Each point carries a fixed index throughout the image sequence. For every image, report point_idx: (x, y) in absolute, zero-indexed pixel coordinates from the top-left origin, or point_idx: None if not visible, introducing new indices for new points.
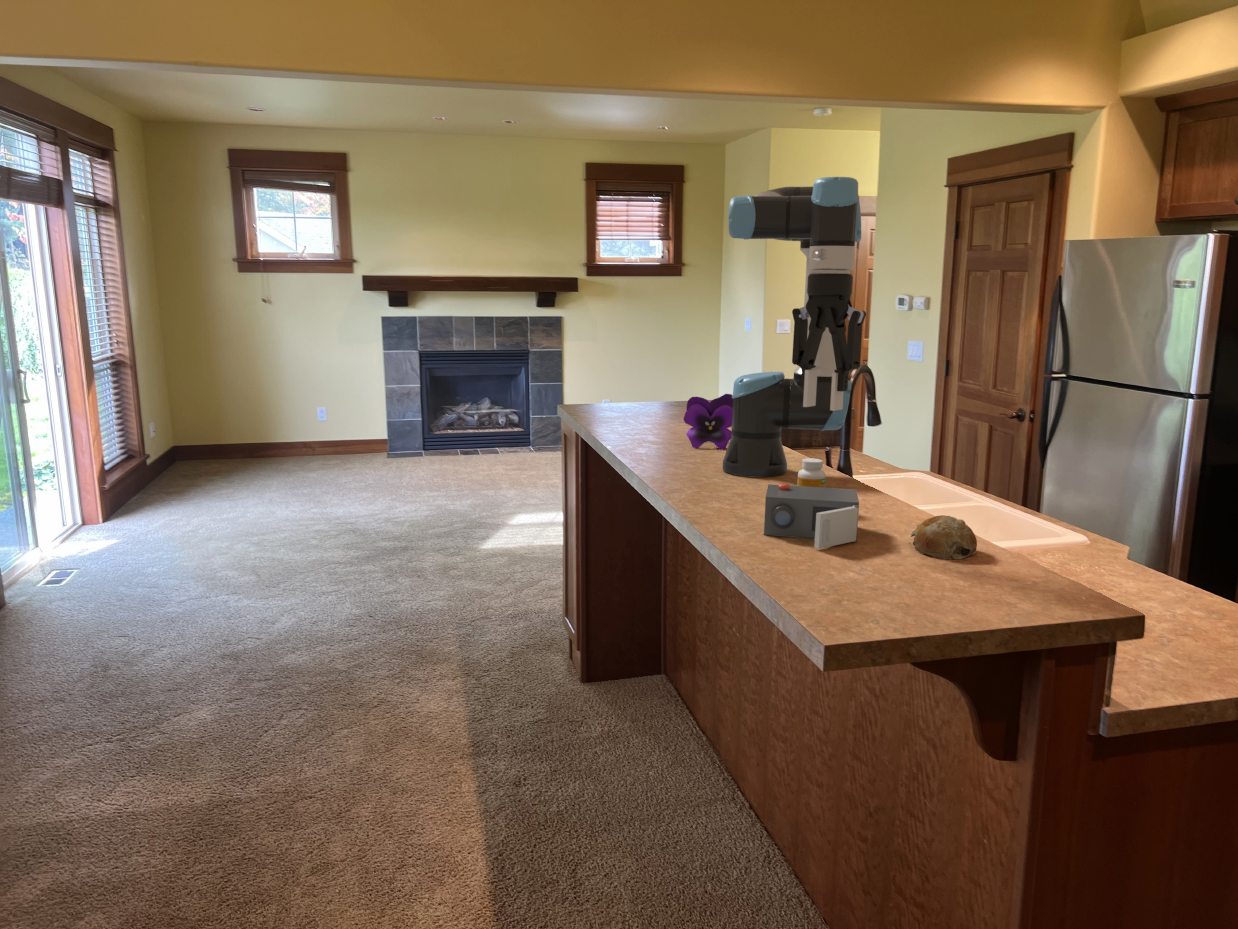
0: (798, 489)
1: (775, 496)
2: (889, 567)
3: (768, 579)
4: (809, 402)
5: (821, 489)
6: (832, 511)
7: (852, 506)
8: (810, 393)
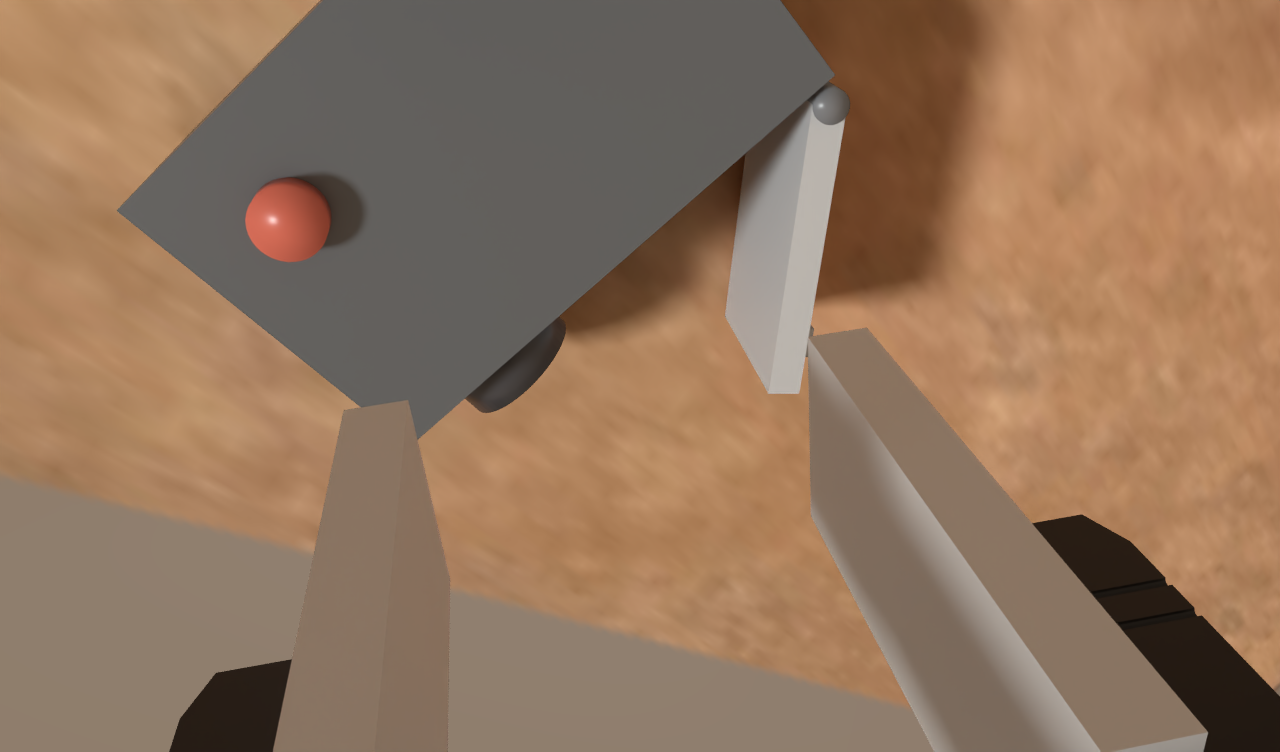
0: (354, 140)
1: (430, 394)
2: (1069, 227)
3: (834, 653)
4: (436, 565)
5: None
6: (804, 303)
7: (812, 117)
8: (428, 645)
